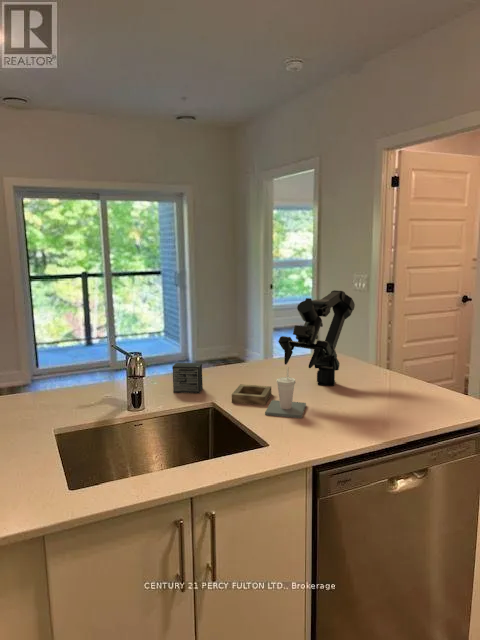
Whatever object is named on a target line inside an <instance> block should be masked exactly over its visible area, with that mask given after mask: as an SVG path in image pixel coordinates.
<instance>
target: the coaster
mask: <svg viewBox="0 0 480 640" xmlns="http://www.w3.org/2000/svg"><path fill="white" fill-rule="evenodd" d="M306 406H307V403H306V402H299V401H292V406H291V408H290V409H282V408H281V407H280V400H274V399H271V401H270V403H269V405H268V406H267V409H266V410H265V413H264V414H265V415H264V416H270V415H271V417H283V418H291V419H293V418H294V419H302V418H303V415H304V412H305V409H306Z"/></svg>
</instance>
